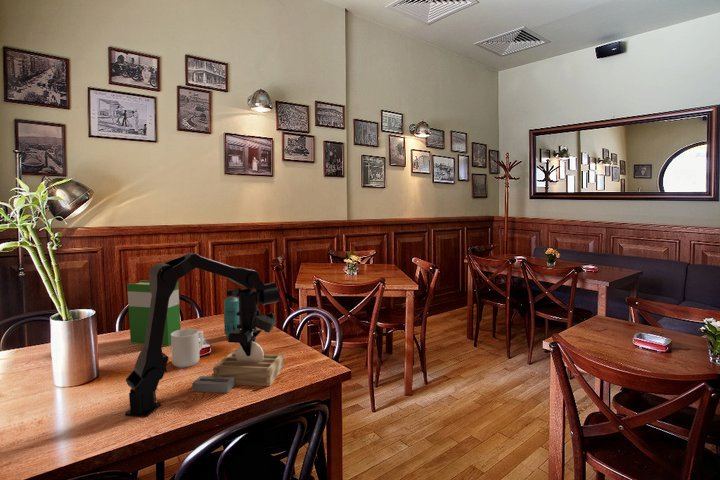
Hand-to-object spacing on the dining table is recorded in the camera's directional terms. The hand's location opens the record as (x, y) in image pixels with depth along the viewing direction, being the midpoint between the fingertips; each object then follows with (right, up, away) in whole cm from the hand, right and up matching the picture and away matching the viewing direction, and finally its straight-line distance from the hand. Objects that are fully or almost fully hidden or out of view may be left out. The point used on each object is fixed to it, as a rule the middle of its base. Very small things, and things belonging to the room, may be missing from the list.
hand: (249, 354), depth 132 cm
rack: (0, -7, +1) cm, 7 cm away
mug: (-24, -6, +12) cm, 28 cm away
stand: (-9, -8, -8) cm, 14 cm away
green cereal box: (-47, -4, +34) cm, 58 cm away
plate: (0, 0, 0) cm, 0 cm away
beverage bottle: (-17, -3, +38) cm, 42 cm away
